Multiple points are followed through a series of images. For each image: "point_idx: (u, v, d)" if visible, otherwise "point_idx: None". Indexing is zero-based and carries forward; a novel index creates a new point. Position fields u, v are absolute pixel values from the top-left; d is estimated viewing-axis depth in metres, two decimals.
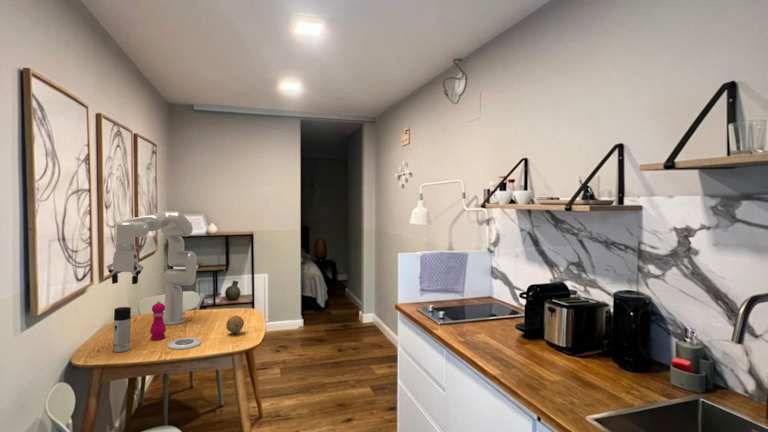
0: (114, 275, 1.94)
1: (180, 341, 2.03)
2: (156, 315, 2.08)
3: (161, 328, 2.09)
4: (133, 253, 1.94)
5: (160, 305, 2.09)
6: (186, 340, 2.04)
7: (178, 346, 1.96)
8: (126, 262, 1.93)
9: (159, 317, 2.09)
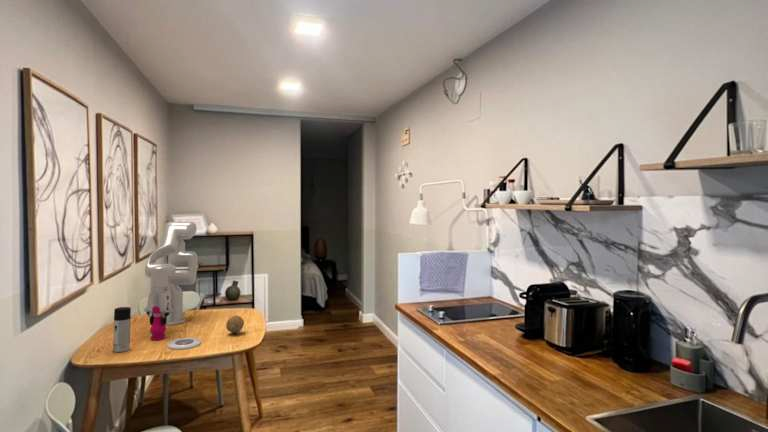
0: (152, 317, 2.10)
1: (180, 341, 2.03)
2: (156, 315, 2.08)
3: (161, 328, 2.09)
4: (166, 294, 2.09)
5: None
6: (186, 340, 2.04)
7: (178, 346, 1.96)
8: (160, 303, 2.08)
9: (159, 317, 2.09)
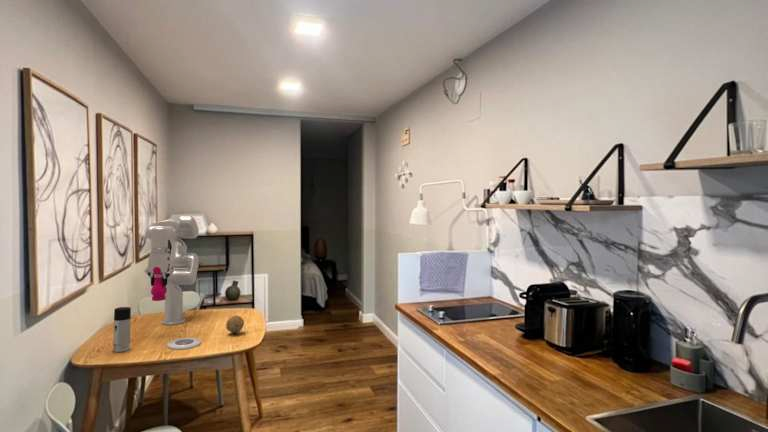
0: (153, 278, 2.10)
1: (180, 341, 2.03)
2: (157, 276, 2.08)
3: (162, 289, 2.09)
4: (167, 255, 2.09)
5: None
6: (186, 340, 2.04)
7: (178, 346, 1.96)
8: (160, 264, 2.08)
9: (160, 278, 2.09)
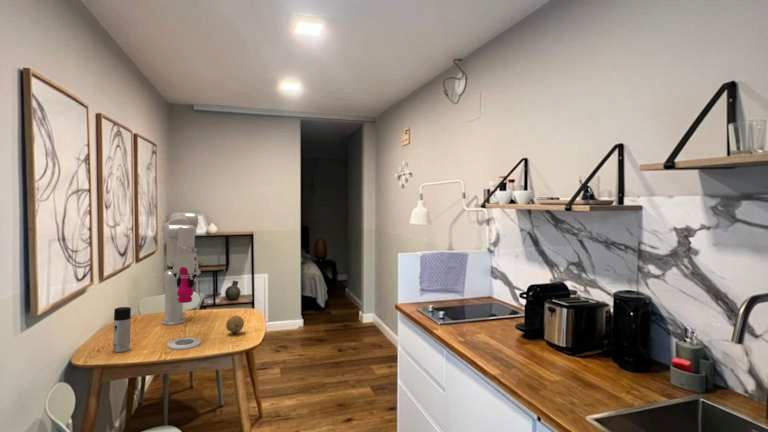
0: (179, 279, 2.01)
1: (180, 341, 2.03)
2: (183, 277, 1.99)
3: (189, 291, 2.00)
4: (194, 255, 2.01)
5: None
6: (186, 340, 2.04)
7: (178, 346, 1.96)
8: (187, 264, 1.99)
9: (186, 279, 2.00)
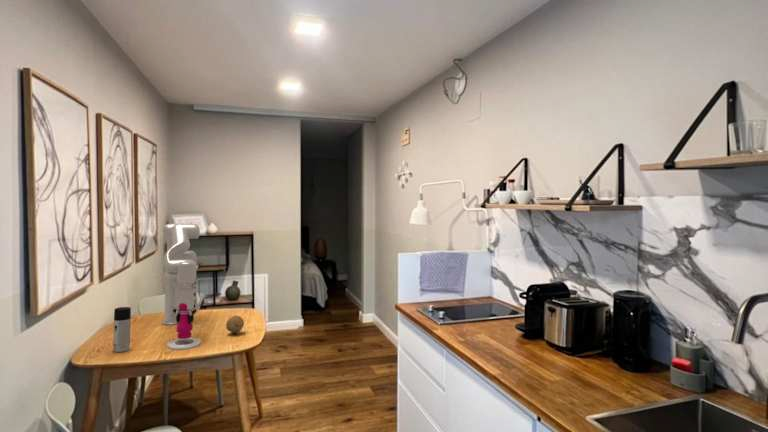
0: (178, 314, 2.01)
1: (180, 341, 2.03)
2: (183, 313, 2.00)
3: (188, 327, 2.00)
4: (193, 291, 2.01)
5: None
6: (186, 340, 2.04)
7: (178, 346, 1.96)
8: (187, 300, 2.00)
9: (186, 315, 2.01)
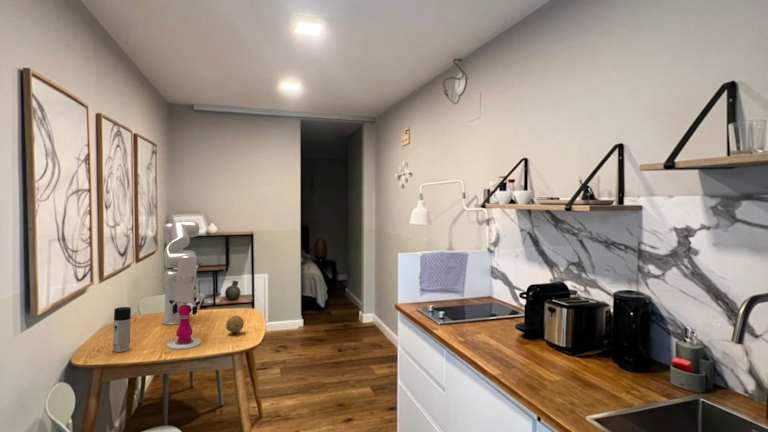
0: (175, 305, 2.02)
1: None
2: (183, 317, 2.00)
3: (188, 331, 2.01)
4: (193, 285, 2.01)
5: (187, 307, 2.01)
6: None
7: (178, 346, 1.96)
8: (187, 293, 2.00)
9: (186, 319, 2.01)
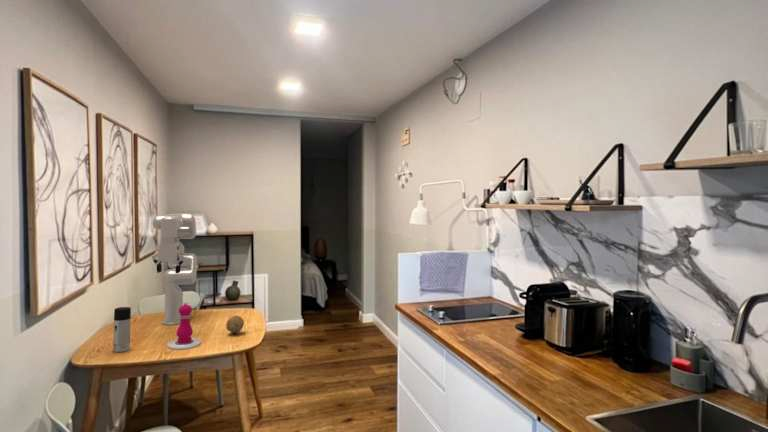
0: (159, 265, 2.13)
1: None
2: (183, 317, 2.00)
3: (188, 331, 2.01)
4: (176, 245, 2.12)
5: (187, 307, 2.01)
6: None
7: (178, 346, 1.96)
8: (170, 253, 2.11)
9: (186, 319, 2.01)
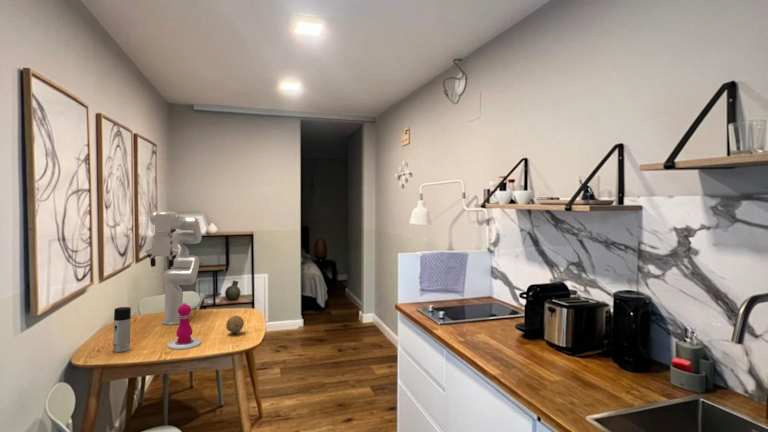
0: (152, 259, 2.17)
1: None
2: (182, 317, 2.00)
3: (188, 331, 2.01)
4: (169, 239, 2.17)
5: (186, 307, 2.01)
6: None
7: (178, 346, 1.96)
8: (163, 247, 2.15)
9: (185, 319, 2.01)
